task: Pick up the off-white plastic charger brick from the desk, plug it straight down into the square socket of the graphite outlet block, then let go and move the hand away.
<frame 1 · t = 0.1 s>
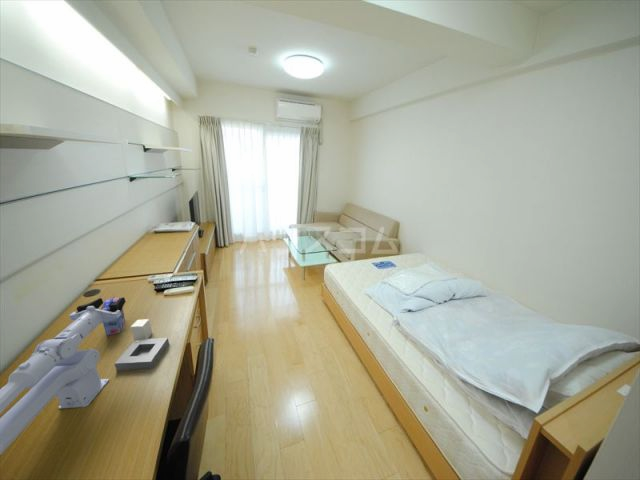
hand: (112, 300, 89), 22 cm above the table, tool horizontal, fingers open, 7 cm apart
outlet block: (144, 356, 92), on the table
charger brick: (143, 336, 102), on the table
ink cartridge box: (117, 327, 107), on the table
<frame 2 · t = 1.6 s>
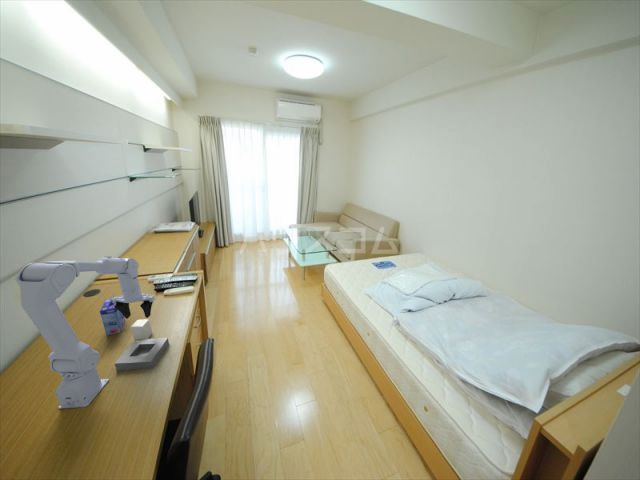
hand: (138, 316, 98), 10 cm above the table, tool pointing down, fingers open, 7 cm apart
nothing on the table moved.
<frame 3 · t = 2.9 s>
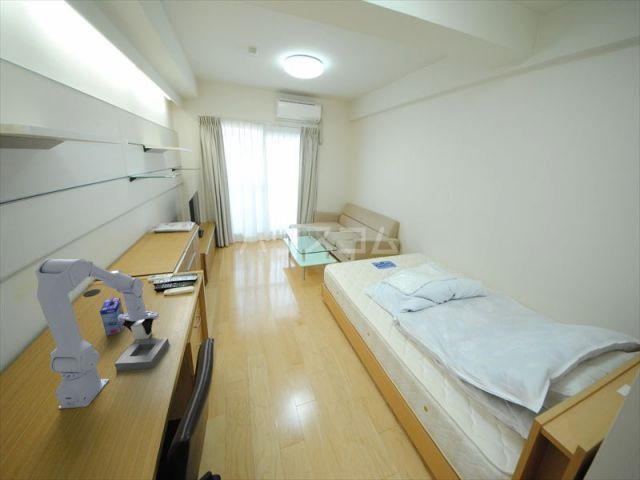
hand: (142, 333, 101), 2 cm above the table, tool pointing down, fingers closed on charger brick, 4 cm apart
charger brick: (143, 336, 102), on the table, touching gripper
everything else where it was.
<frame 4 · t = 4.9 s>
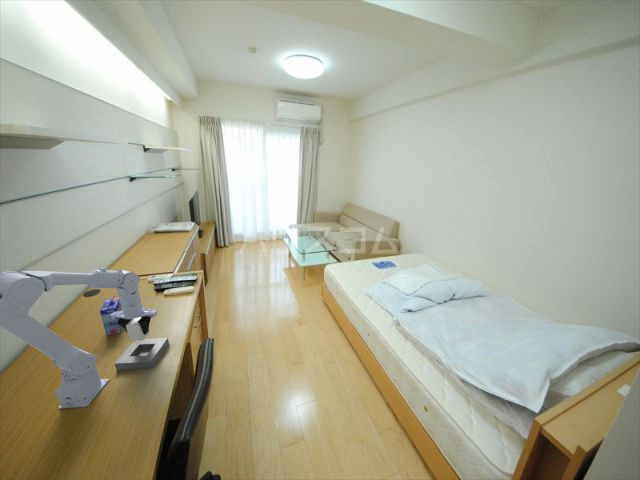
hand: (139, 333, 91), 9 cm above the table, tool pointing down, fingers closed on charger brick, 4 cm apart
charger brick: (140, 336, 92), point 7 cm above the table, touching gripper
everything else where it was.
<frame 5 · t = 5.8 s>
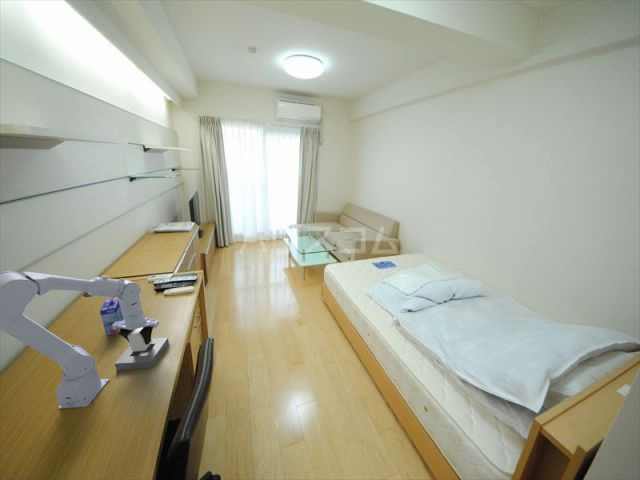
hand: (141, 343, 90), 6 cm above the table, tool pointing down, fingers closed on charger brick, 4 cm apart
charger brick: (142, 346, 91), point 4 cm above the table, touching gripper
everything else where it was.
when the fingers open (4 cm above the table, at t = 6.8 s): charger brick drops 1 cm, resting on outlet block.
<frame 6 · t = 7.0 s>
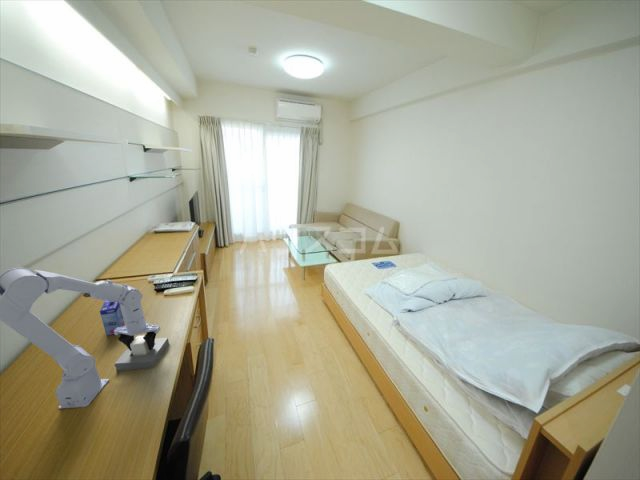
hand: (142, 348, 91), 4 cm above the table, tool pointing down, fingers open, 6 cm apart
charger brick: (144, 354, 92), point 1 cm above the table, touching outlet block
everything else where it was.
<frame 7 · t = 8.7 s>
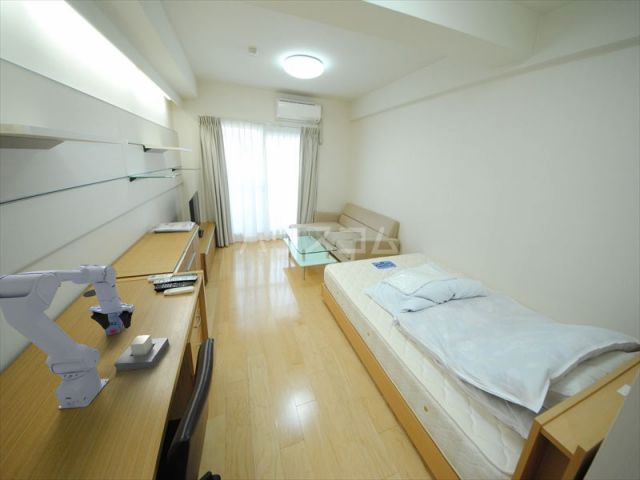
hand: (117, 327, 93), 9 cm above the table, tool pointing down, fingers open, 7 cm apart
nothing on the table moved.
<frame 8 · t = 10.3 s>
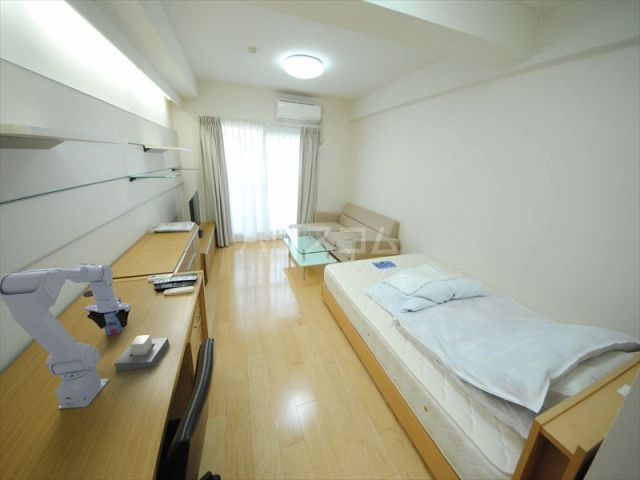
hand: (114, 326, 93), 9 cm above the table, tool pointing down, fingers open, 7 cm apart
nothing on the table moved.
at the end: charger brick 0.1 cm off-centre on the outlet block, point 0.6 cm above the outlet block's base; charger brick tilted 0°; the gripper is holding nothing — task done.
